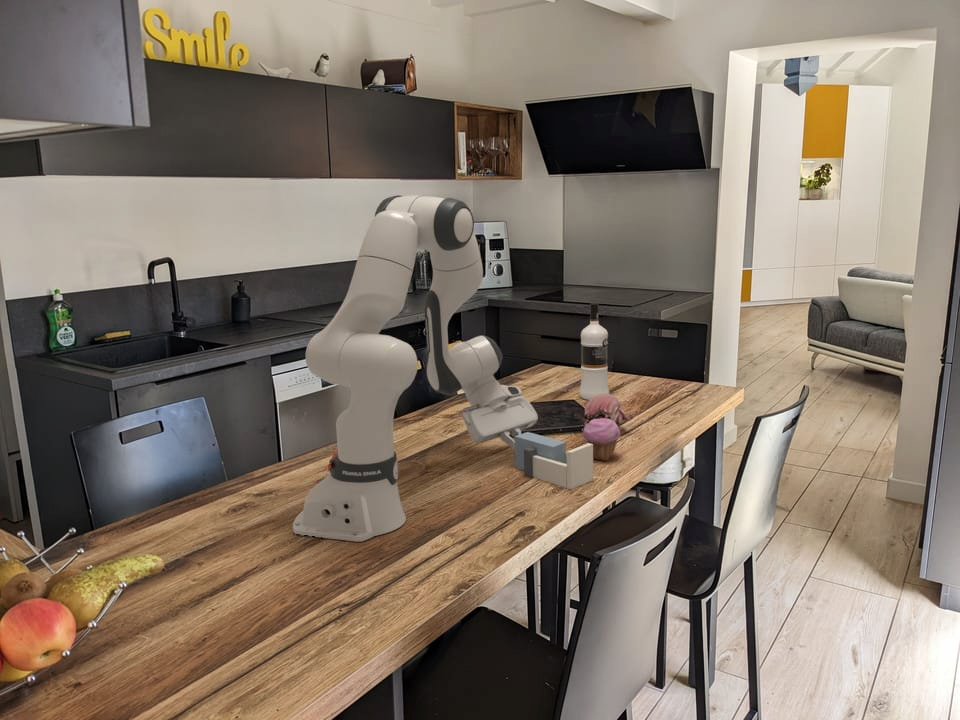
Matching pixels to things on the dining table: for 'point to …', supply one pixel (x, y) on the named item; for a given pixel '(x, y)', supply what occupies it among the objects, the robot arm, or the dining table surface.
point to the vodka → (594, 357)
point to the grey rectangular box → (539, 448)
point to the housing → (561, 467)
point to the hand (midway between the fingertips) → (519, 447)
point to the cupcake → (602, 437)
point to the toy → (604, 409)
